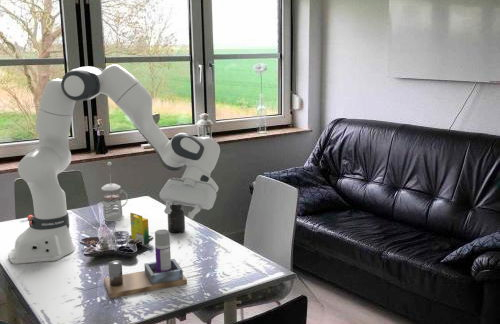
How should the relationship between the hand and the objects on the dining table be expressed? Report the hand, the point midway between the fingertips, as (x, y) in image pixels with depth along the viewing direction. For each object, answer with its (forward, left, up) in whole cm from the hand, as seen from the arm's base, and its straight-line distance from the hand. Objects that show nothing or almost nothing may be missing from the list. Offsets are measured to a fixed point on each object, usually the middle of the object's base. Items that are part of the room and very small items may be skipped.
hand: (178, 215), depth 177 cm
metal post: (-22, -6, -18) cm, 29 cm away
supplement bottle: (+9, +36, -19) cm, 42 cm away
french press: (-11, +64, -19) cm, 68 cm away
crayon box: (-7, +30, -19) cm, 37 cm away
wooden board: (-13, -6, -19) cm, 24 cm away
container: (-7, -6, -18) cm, 20 cm away
